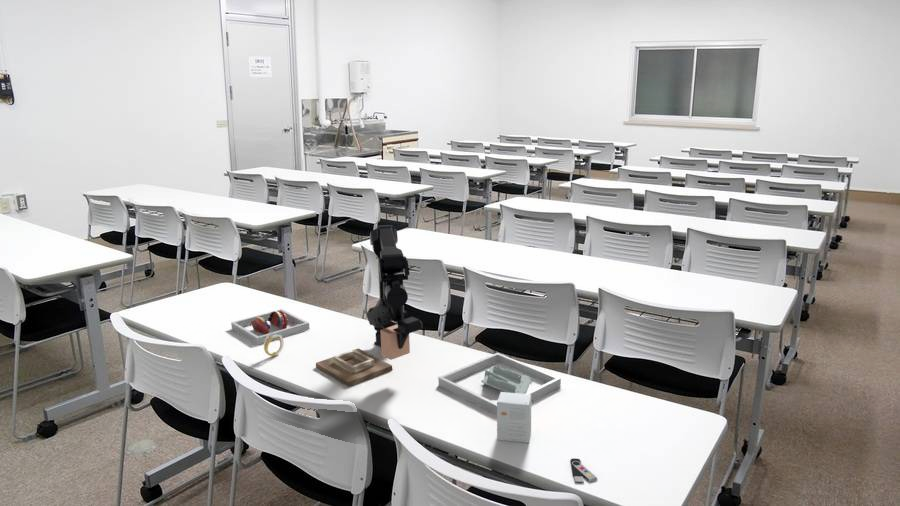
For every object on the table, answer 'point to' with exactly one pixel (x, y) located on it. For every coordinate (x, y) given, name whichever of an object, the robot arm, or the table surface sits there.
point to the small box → (514, 417)
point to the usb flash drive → (580, 471)
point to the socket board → (353, 367)
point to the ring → (266, 343)
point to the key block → (392, 344)
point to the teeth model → (274, 319)
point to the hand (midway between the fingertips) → (395, 346)
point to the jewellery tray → (258, 340)
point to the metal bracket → (506, 380)
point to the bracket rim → (447, 379)
